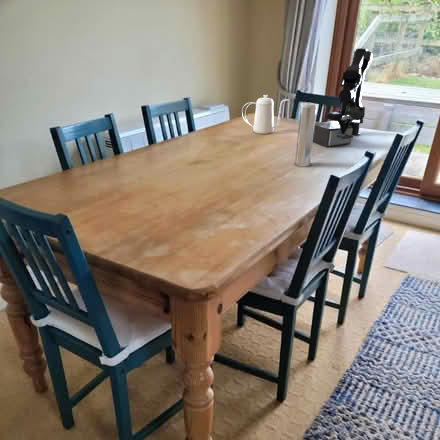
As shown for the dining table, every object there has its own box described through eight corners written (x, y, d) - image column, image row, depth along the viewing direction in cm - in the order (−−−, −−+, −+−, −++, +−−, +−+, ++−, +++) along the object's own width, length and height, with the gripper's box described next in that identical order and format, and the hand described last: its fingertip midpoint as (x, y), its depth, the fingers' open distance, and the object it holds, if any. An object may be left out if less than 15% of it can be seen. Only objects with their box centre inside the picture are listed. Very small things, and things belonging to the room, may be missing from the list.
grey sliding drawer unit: (349, 143, 228) (352, 126, 224) (326, 147, 222) (329, 129, 218) (331, 137, 238) (334, 120, 234) (309, 140, 233) (311, 123, 228)
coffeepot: (287, 135, 242) (290, 97, 232) (240, 133, 244) (241, 96, 234) (286, 130, 251) (290, 93, 241) (241, 128, 253) (243, 92, 243)
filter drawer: (357, 145, 223) (359, 130, 219) (336, 148, 218) (338, 133, 214) (334, 137, 236) (335, 123, 232) (313, 140, 231) (315, 126, 227)
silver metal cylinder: (309, 167, 195) (316, 105, 182) (294, 166, 196) (300, 104, 183) (310, 162, 201) (317, 102, 187) (295, 161, 202) (301, 101, 188)
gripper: (344, 103, 202) (339, 139, 211) (375, 100, 210) (369, 135, 218) (328, 99, 210) (324, 134, 219) (358, 96, 218) (353, 130, 226)
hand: (343, 133), depth 220 cm, fingers closed
